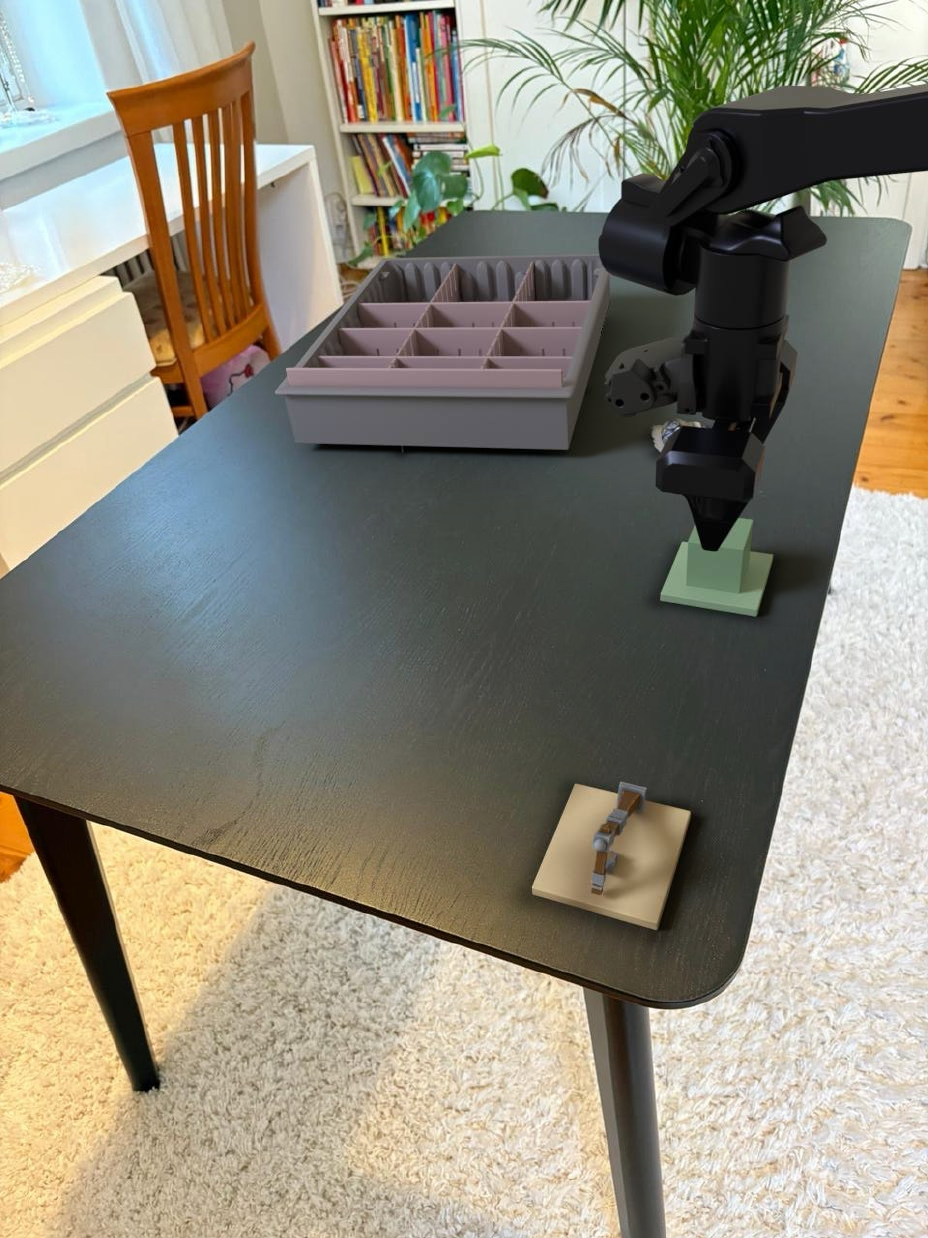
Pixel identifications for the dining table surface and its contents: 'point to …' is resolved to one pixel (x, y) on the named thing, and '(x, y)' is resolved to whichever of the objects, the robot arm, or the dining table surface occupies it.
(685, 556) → the sage pad
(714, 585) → the sage block
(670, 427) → the blue white patterned piece
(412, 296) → the organizer tray
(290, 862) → the dining table surface
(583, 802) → the birch pad
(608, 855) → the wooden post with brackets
